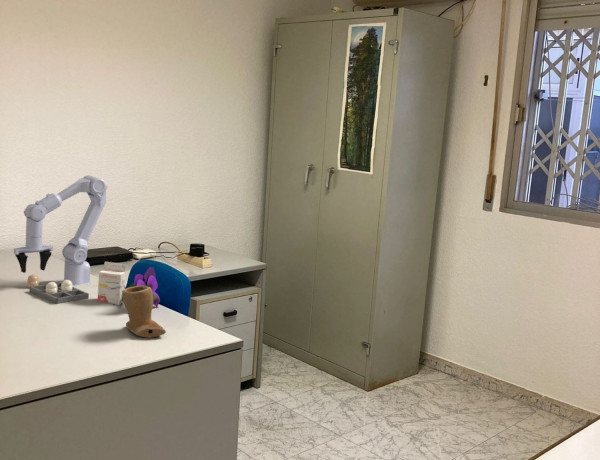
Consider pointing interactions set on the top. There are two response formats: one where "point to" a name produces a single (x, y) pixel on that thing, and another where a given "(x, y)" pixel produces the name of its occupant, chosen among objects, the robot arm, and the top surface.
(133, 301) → the brown felt boot
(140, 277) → the flower
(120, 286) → the ink cartridge box
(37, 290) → the carton
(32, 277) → the brown egg
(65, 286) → the cream egg
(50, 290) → the cream egg
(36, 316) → the top surface
